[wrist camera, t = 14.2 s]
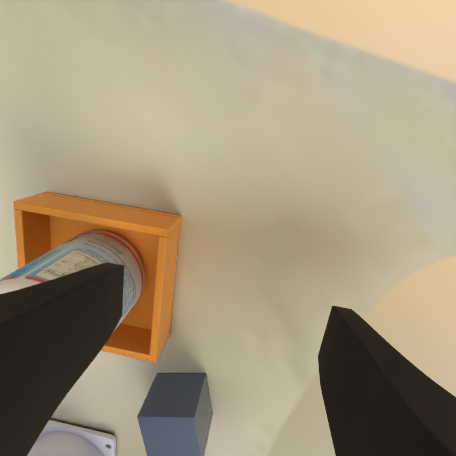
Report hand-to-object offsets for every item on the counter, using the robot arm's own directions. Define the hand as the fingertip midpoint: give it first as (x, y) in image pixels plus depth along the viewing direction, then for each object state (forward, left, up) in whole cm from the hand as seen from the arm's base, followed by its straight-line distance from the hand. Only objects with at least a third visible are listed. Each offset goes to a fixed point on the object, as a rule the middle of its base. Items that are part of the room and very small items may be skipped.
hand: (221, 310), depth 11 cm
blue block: (-15, +3, -10) cm, 18 cm away
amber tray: (-5, +9, -10) cm, 15 cm away
